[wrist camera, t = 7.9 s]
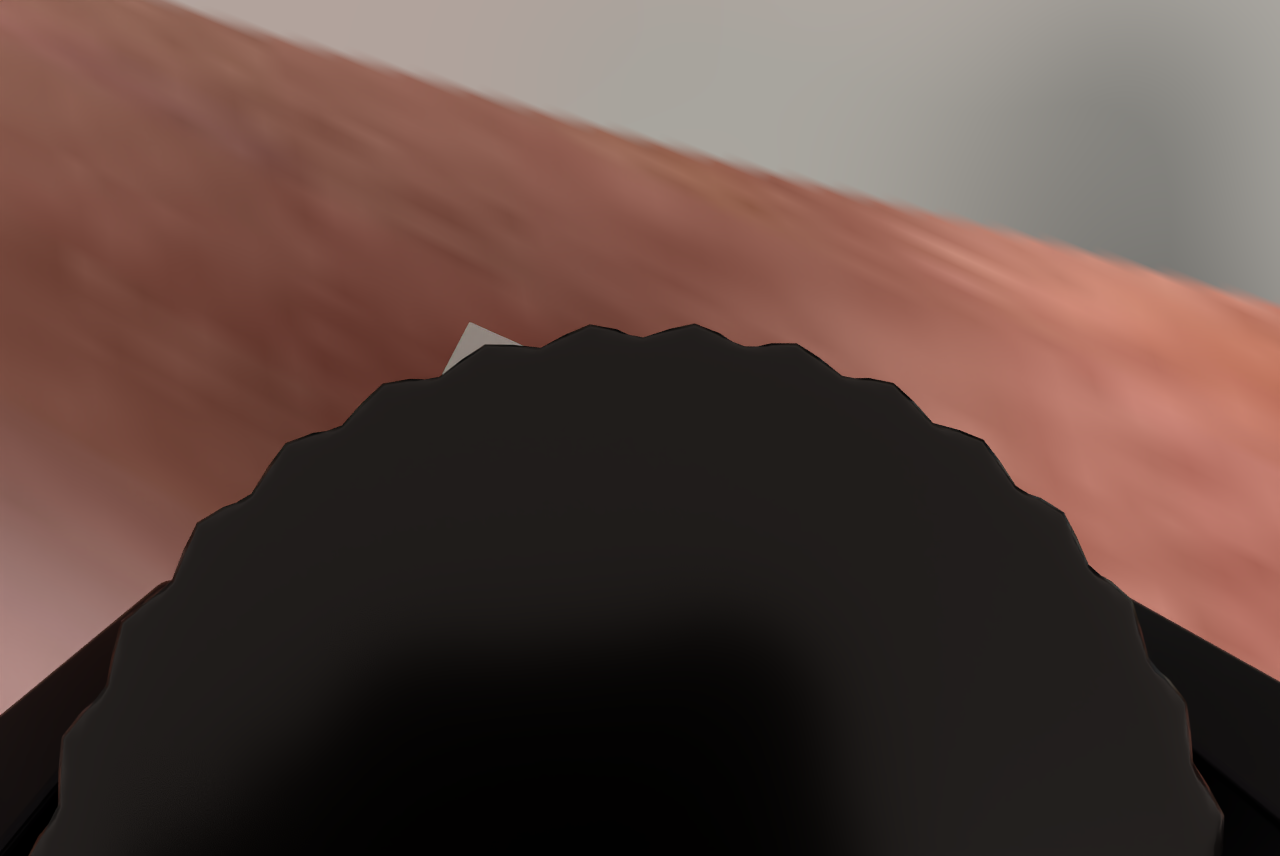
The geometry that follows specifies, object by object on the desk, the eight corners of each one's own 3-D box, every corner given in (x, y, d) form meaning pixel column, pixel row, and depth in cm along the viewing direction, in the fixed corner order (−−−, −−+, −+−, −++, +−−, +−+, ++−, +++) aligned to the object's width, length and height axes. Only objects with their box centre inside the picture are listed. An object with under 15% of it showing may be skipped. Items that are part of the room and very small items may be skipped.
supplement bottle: (363, 981, 14) (-580, 2422, 3) (359, 517, 16) (-228, 106, 4) (822, 933, 15) (1762, 1930, 3) (774, 492, 16) (1282, 66, 5)
